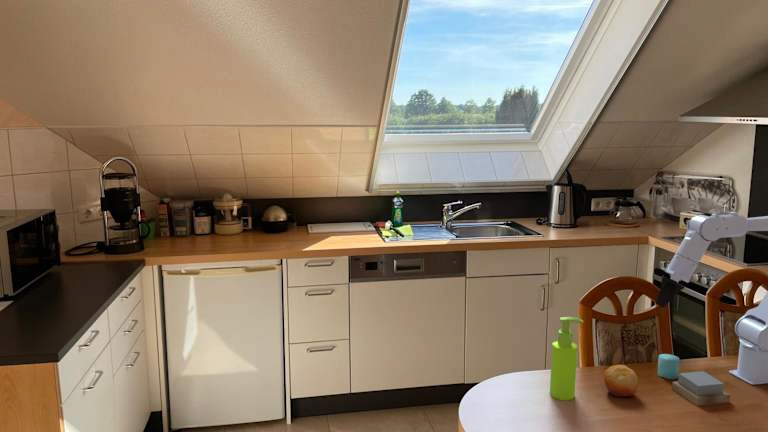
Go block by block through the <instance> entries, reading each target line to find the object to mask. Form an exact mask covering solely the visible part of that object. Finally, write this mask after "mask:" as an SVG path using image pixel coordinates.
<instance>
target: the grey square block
mask: <svg viewBox="0 0 768 432" xmlns="http://www.w3.org/2000/svg"><path fill="white" fill-rule="evenodd" d="M677 379H678V380H677V381H678V383H679V384H681V385H682V386H684V387H685V388H687V389H688V390H690V391H691V392H693V393H694V394H696V395H697V396H699V395H709V394H719V393H723V391H724V385H725V383H723V382H722V381H720V380H719V379H718V378H716V377H714V376H712V375H711V374H709V373H707V372H706V371H692V372H680V373H679V372H678V378H677Z"/></svg>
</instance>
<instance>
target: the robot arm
mask: <svg viewBox="0 0 768 432" xmlns="http://www.w3.org/2000/svg"><path fill="white" fill-rule="evenodd" d="M766 231H767V232H768V215H766V216H765V215H764V216H756V217H755V216H754V217H746V216H745V215H743V214H740V213H739V212H736V211H730V212H729V214H719V213H712V214H711V215H710V216H708V215H705V214H697V215H695V216H693V217H691V219H688V220H687V221H686V233H685V235H684V238H683V240H682V241H681V243H680V245H679V247H678V248H677V250H676V252H675V254H674V256H673V257H672V259H671V260H670V262H669V264H668V266H667V268H666V267H665V266H661V268H660V269H661V270H662V271H664V272H665V273H667V274H669V275H670V278H668V277H667V276H665V275H661V284H660V289H659V292H658V295H657V296H656V297H657V298H656V300H655V305H657V306H659V307H661V308H663V309H665V308H666V306H667V305H668V304H669V303H670V302H671V300H673V298H674V297H675V296H676V295H677V294H678V293H679V292H681V291H682V290H684V289H685V286H683V285H682V284H680V283H679V281H680V282H681V281H683V282H685V283H687V284H688V283H690V279H691V278H692V275H693V274H694V272H695V270H696V269H697V267H698V265H699V263H700V262H701V260H702V258H703V256H704V255H705V253H706V251H707V249H708V248H709V246H710V244H711V243H712V242H715V241H717V240H719V239H721V238H722V239H723V238H734V237H735V238H736V237H737V238H738V237H739V238H740V237H744V236H745V235H746V234H747V232H766ZM734 331H735V334H736V335H737V336H738V341H739V349H738V359H737V369H732V370H729V371H728V373H729V374H731V375H732V376H735V377H736V378H738V379H741V381H744V382H746V383H748V384H750V385H763V384H768V290H767V291H766V293H765V294H764V296H763V297H762V299H761V301H760V302H759V304H758V305H757V306H755V307H754V308H751V309H748V310H746V312H745V313H744V315H743V316H742V317H740V318H739V319H738V320H737V321H736V323H735V326H734Z"/></svg>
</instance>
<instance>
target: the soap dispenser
mask: <svg viewBox="0 0 768 432" xmlns="http://www.w3.org/2000/svg"><path fill="white" fill-rule="evenodd" d="M559 320H560V322H561V328H560V329H558V332H557V340H555V341H553V342H552V344H551V362H550V363H551V364H550V383H549V395H550V396H551V397H552V398H554V399H556V400H559V401H570V400H571V401H572V400H573V399H574V398H575V391H576V378H577V375H576V373H577V357H578V345H577V344H576V343H574V342H573V330H571V329H570V323H578V324H583V323H584V320H583V319H582V318H579V317H575V316H572V317H571V316H560V317H559Z"/></svg>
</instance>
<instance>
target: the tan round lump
mask: <svg viewBox="0 0 768 432" xmlns="http://www.w3.org/2000/svg"><path fill="white" fill-rule="evenodd" d="M603 383H604V385H605V387H606V389H607V390H608V391H609V392H610V394H611V395H612V396H614V397H620V398H621V397H632V396H633V395H634V394H636V393H637V390H638V387H639V377H638V376H637V373H636V372H635V370H633V369H631V368H630V367H629V366H627V365H625V364H614V365H612V366H609V367H608V368H607V369H606V370H605V371H604V373H603Z"/></svg>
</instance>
